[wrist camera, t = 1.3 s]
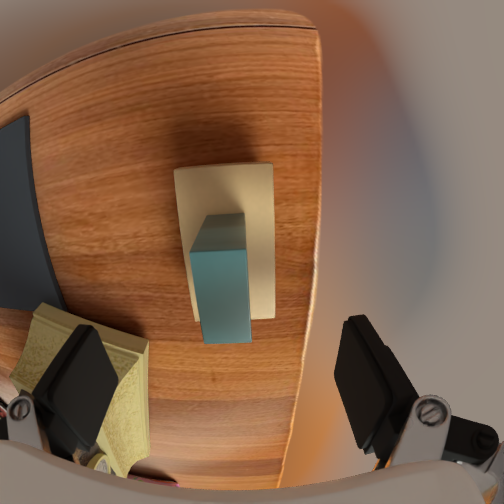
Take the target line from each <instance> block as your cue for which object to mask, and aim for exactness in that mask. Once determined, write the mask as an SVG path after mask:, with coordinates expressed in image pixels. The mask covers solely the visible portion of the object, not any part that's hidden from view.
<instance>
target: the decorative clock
mask: <svg viewBox="0 0 504 504" xmlns="http://www.w3.org/2000/svg"><path fill="white" fill-rule="evenodd" d="M33 316H34V317H33V318H32V321H31V325H30V329H29V334H28V339H27V341H26V344H25V347H24V350H23V353H22V355H21V357H20V359H19V361H18V363H17V365H16V367H15V368H14V370H13V371H12V373H11V374H10V376H9V377H10V379H11V381H12V382H13V384H14V386H15V388H16V390H17V391H18V393H19V396H21V395H25V396H28V397H30V398H31V399H32V400H34V396H33V395H32V394H31V393H32V391H33V390H34V388H35V386H36V385H37V383H38V382H39V380H40V379H41V377H42V375H43V374H44V372H45V371H46V369H47V368H48V366H49V365H50V363H51V362H52V360H53V359H54V357H55V356H56V355H57V353H58V352H59V350H60V349H61V347H62V346H63V345H64V343H65V342H66V340H67V339H68V338H69V336H70V335H71V334H72V332H73V331H74V330H75V328H76V327H77V326H78V325H79V324H86V325H92V326H93V327H94V328H95V329H96V330H97V331H98V333H99V335H100V338H101V340H102V343H103V345H104V347H105V350H106V352H107V354H108V356H109V359H110V361H111V363H112V365H113V367H114V369H115V371H116V373H117V375H118V379H119V382H118V386H117V388H116V390H115V393H114V395H113V398H112V400H111V403H110V405H109V408H108V410H107V413H106V416H105V418H104V421H103V423H102V426H101V429H100V432H99V434H98V437H97V440H96V443H95V445H94V446H93V447H91V449H90V452H86V451H83V450H80V449H78V448H77V447H76V450H75V452H76V455H77V457H78V460H79V462H80V465H82V466H85V467H88V468H91V469H94V470H97V471H101V472H104V473H108V474H111V475H115V476H119V477H123V478H127V475H128V472H129V470H130V468H131V466H132V465H133V464H134V463H135V462H136V461H138V460H141V459H143V458H146V457H149V452H150V434H149V412H148V352H149V340H148V339H145V338H141V337H138V336H135V335H131V334H128V333H125V332H121V331H118V330H115V329H112V328H109V327H106V326H103V325H100V324H97V323H94V322H91V321H89V320H86V319H83V318H80V317H78V316H75V315H73V314H70V313H67V312H65V311H62V310H60V309H57V308H55V307H53V306H50V305H48V304H45V303H43V302H42V303H41V304H40V306H39V307H38V308H37V309H36V310H35V311H34V312H33Z"/></svg>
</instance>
